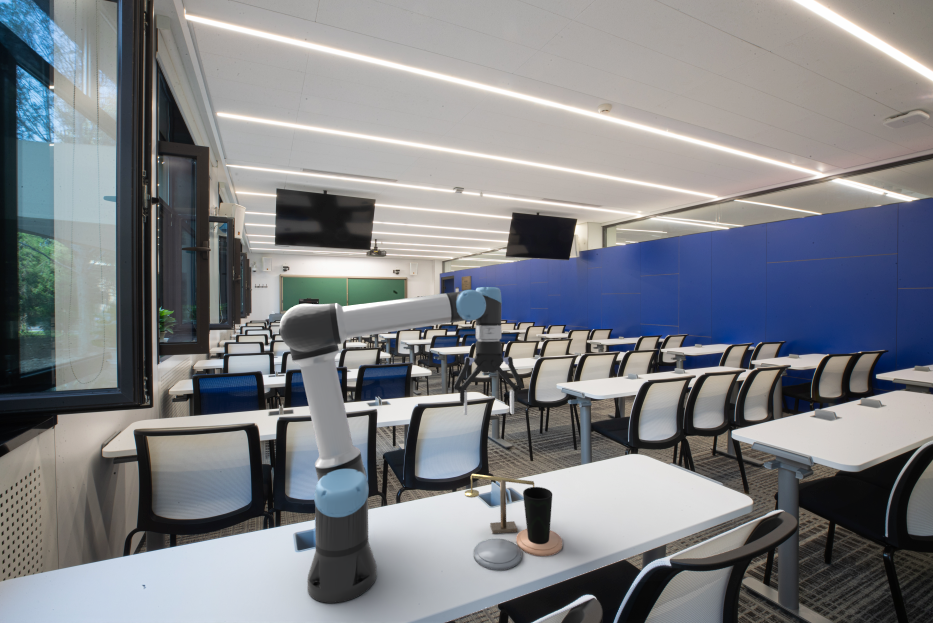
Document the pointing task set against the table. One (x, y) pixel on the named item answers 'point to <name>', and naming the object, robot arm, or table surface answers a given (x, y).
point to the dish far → (539, 549)
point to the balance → (503, 525)
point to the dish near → (497, 554)
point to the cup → (538, 513)
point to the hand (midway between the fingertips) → (488, 413)
